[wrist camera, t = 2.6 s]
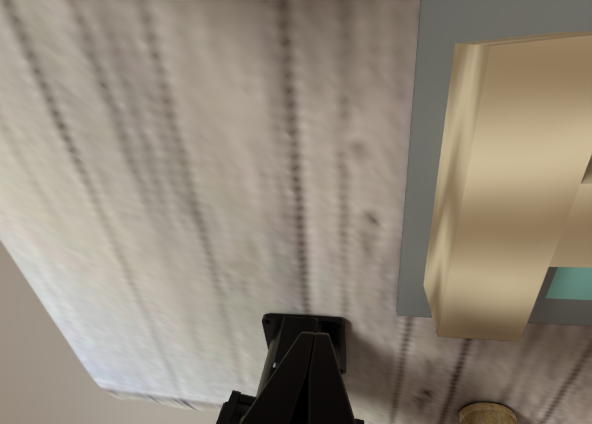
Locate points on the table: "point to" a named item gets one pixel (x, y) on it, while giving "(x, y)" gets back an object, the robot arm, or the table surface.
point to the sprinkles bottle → (486, 414)
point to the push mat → (430, 126)
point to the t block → (510, 181)
